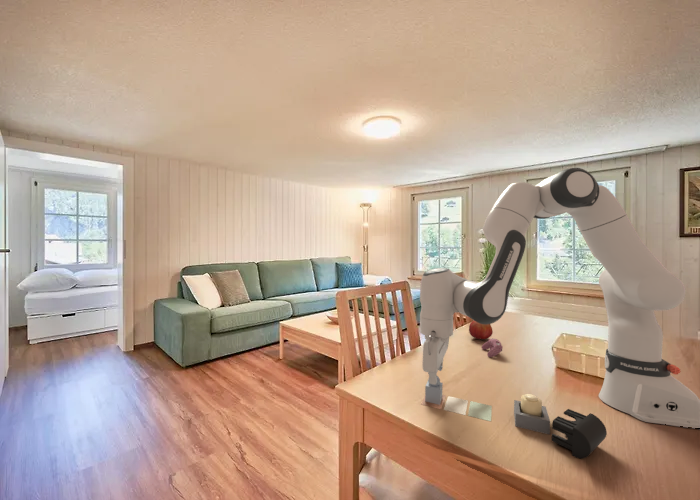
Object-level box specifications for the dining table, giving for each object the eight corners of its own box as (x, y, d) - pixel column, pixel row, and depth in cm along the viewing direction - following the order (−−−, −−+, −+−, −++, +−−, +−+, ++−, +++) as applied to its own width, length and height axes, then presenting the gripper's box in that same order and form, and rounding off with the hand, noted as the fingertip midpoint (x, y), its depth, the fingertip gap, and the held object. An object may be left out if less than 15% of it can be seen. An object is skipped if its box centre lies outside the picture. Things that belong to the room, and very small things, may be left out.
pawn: (442, 398, 87) (442, 373, 86) (439, 404, 83) (440, 379, 83) (428, 394, 88) (428, 371, 88) (425, 401, 85) (425, 376, 85)
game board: (492, 406, 84) (492, 404, 84) (492, 426, 75) (492, 423, 75) (426, 391, 92) (426, 389, 92) (418, 408, 83) (418, 405, 83)
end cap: (589, 468, 61) (590, 435, 61) (550, 448, 67) (551, 418, 67) (606, 449, 67) (607, 419, 67) (568, 432, 73) (569, 404, 73)
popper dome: (540, 412, 76) (540, 394, 76) (542, 422, 73) (543, 403, 72) (520, 408, 78) (520, 390, 78) (521, 417, 74) (521, 398, 74)
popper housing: (545, 421, 77) (545, 406, 77) (549, 437, 71) (550, 421, 71) (513, 414, 80) (514, 400, 80) (515, 428, 74) (515, 413, 74)
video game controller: (497, 362, 119) (506, 346, 118) (486, 356, 120) (495, 340, 119) (490, 353, 129) (498, 338, 128) (479, 347, 129) (488, 333, 129)
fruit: (486, 335, 147) (486, 315, 147) (497, 342, 138) (497, 320, 137) (464, 335, 147) (465, 315, 146) (474, 342, 137) (474, 320, 137)
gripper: (442, 339, 74) (442, 395, 74) (452, 319, 93) (452, 364, 93) (416, 335, 77) (416, 390, 77) (431, 317, 95) (431, 361, 96)
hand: (436, 376), depth 85 cm, fingers open, 8 cm apart
